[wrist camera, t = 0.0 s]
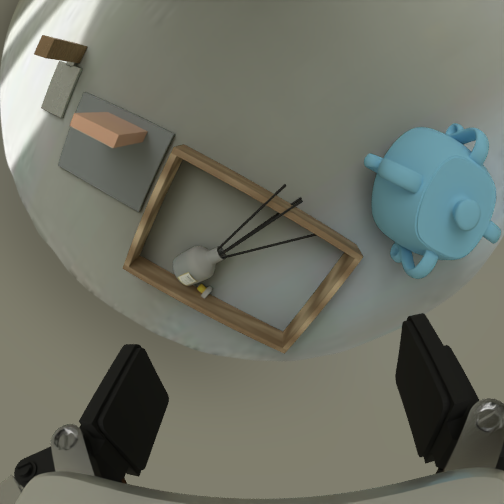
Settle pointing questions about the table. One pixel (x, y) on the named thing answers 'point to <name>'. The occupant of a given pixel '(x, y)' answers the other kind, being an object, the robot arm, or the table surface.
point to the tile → (108, 128)
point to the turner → (60, 72)
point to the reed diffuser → (218, 254)
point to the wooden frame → (214, 305)
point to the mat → (116, 156)
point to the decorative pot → (433, 196)
